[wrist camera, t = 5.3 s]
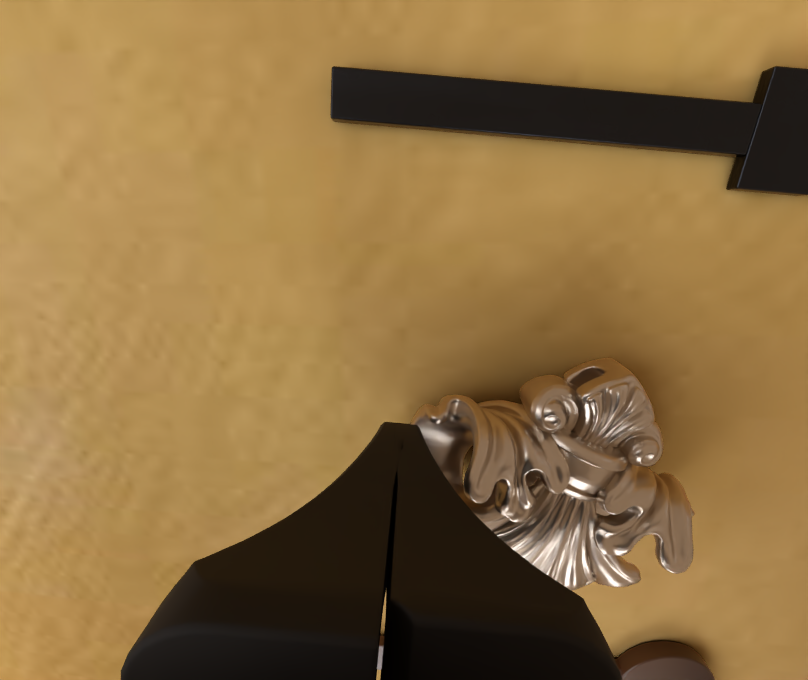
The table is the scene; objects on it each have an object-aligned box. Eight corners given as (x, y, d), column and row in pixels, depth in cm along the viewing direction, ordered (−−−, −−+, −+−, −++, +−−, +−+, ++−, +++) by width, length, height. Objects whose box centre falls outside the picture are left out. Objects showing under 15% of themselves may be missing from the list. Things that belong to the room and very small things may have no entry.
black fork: (332, 154, 10) (329, 152, 10) (335, 34, 9) (332, 27, 9) (923, 207, 10) (943, 206, 10) (976, 90, 9) (1000, 84, 9)
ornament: (714, 392, 12) (838, 466, 8) (596, 560, 14) (656, 678, 10) (464, 291, 11) (486, 327, 8) (379, 483, 13) (365, 581, 10)
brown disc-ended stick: (317, 673, 16) (313, 690, 15) (319, 605, 15) (315, 621, 14) (689, 710, 16) (699, 729, 15) (718, 645, 15) (730, 662, 14)
